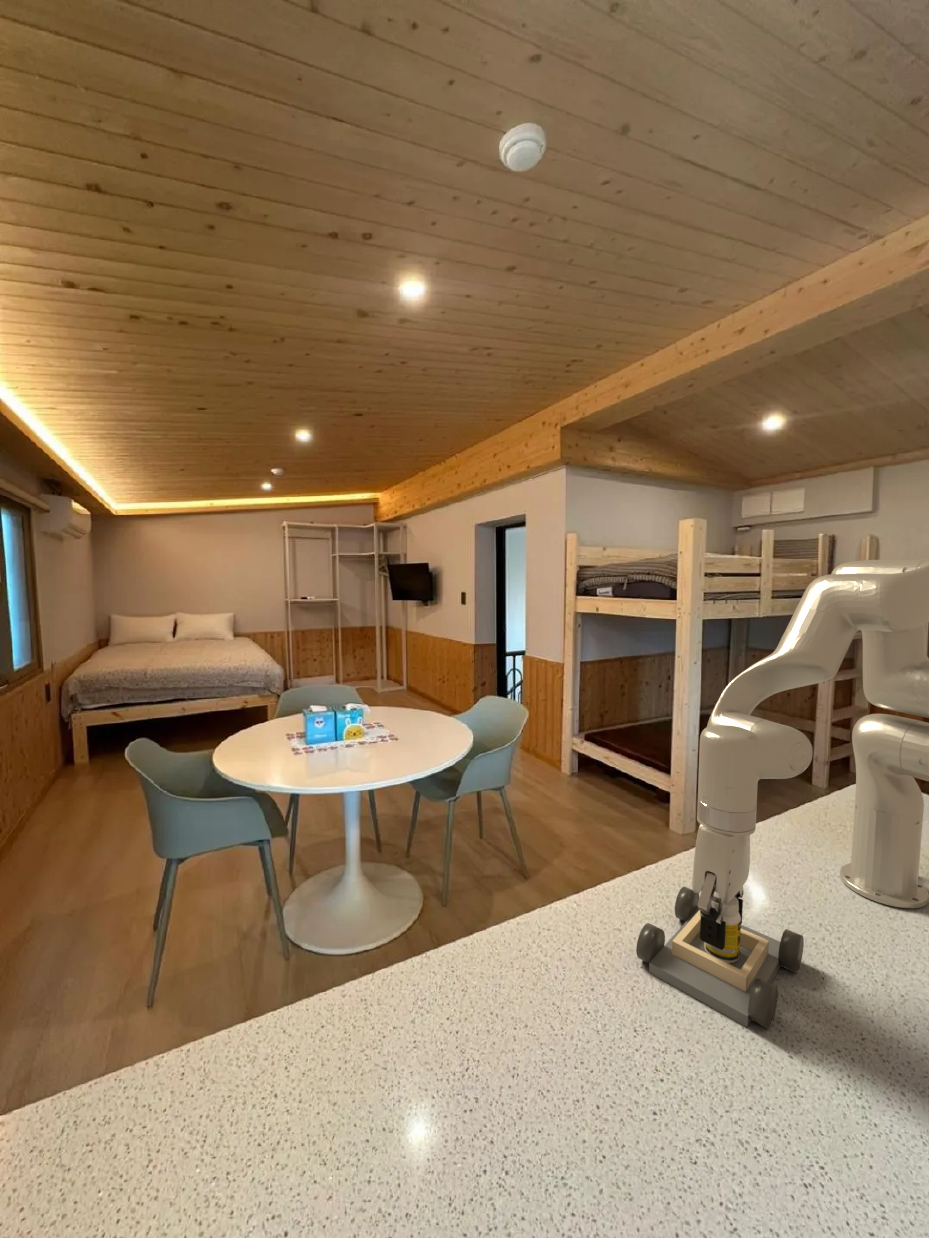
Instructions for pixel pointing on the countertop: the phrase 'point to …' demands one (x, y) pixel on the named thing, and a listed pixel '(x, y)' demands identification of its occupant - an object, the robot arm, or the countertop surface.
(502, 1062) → the countertop surface
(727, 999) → the toy chassis
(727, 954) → the supplement bottle
